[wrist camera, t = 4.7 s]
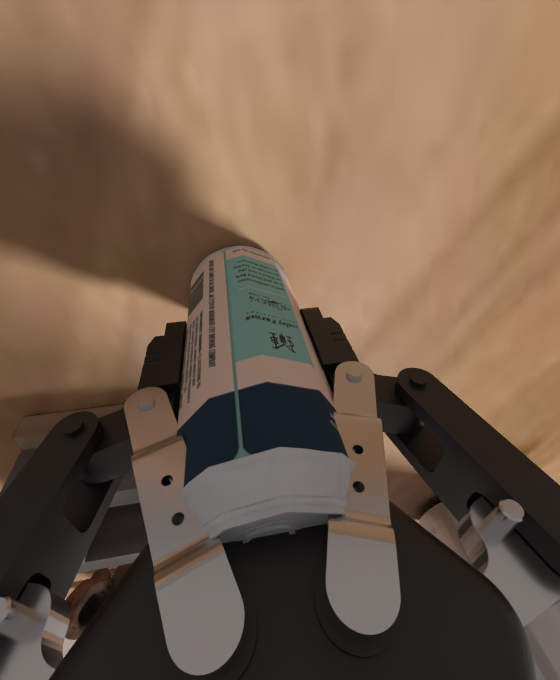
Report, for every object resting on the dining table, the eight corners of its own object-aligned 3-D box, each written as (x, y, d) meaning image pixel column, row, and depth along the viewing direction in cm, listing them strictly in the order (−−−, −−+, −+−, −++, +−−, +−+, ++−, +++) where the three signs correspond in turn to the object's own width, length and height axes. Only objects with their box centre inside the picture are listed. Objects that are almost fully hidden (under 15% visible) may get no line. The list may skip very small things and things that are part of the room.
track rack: (23, 416, 19) (-24, 499, 16) (345, 375, 22) (374, 439, 18) (96, 508, 27) (77, 579, 23) (330, 470, 29) (348, 529, 25)
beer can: (211, 335, 18) (212, 607, 9) (174, 258, 15) (114, 547, 6) (294, 311, 18) (385, 558, 9) (274, 228, 15) (381, 471, 6)
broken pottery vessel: (200, 557, 37) (180, 653, 33) (145, 541, 42) (123, 623, 38) (104, 564, 28) (63, 696, 24) (49, 543, 33) (8, 650, 29)
